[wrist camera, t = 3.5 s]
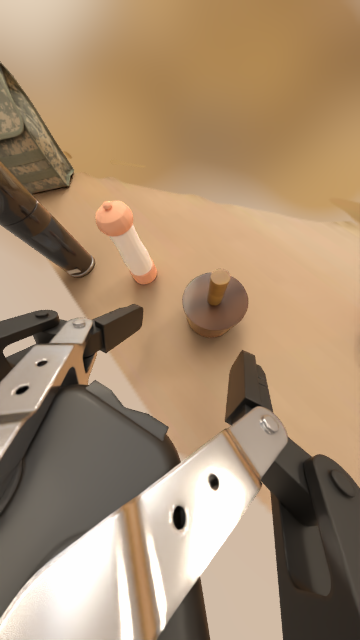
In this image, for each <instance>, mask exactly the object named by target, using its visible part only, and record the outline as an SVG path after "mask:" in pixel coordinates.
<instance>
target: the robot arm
mask: <svg viewBox="0 0 360 640" xmlns="http://www.w3.org/2000/svg"><path fill="white" fill-rule="evenodd" d="M0 225H1V226H3V227H4V228H5V229H7V230H9V231H10V232H11V233H13V234H14V235H15V236H17V237H18V238H20V239H21V240H23V241H24V242H25V243H27V244H28V245H29V246H31V247H32V248H34V249H35V250H36V251H38V252H39V253H41V254H42V255H43V256H45V257H46V258H48V259H49V260H50V261H52V262H53V263H55V264H56V265H58V266H59V267H60V268H62V269H63V270H64V271H66V272H67V273H68V274H70V275H71V276H73V277H82V276H85V275H86V274H88V273H89V272H90V271H91V270H92V269H93V267H94V264H95V260H94V258H93V257H92V256H91V255H90V254H89V253H88V252H87V251H86V250H85V249H84V248H83V247H82V246H81V245H80V244H79V243H78V242H77V241H76V240H75V239H74V237H73V236H72V235H71V234H70V233H69V232H68V231H67V230H66V229H65V228H64V227H63V226H62V225H61V224H60V223H59V222H58V221H57V220H56V219H55V218H54V217H53V216H52V215H51V214H50V213H49V212H48V211H47V210H46V209H45V208H44V207H43V206H42V205H41V204H40V203H39V202H38V200H37V199H36V198H35V197H34V196H33V195H32V194H31V193H30V192H29V191H28V190H27V189H26V188H25V187H24V185H23V184H22V183H21V182H20V181H19V180H18V179H17V177H16V176H15V175H14V174H13V173H12V172H11V171H10V170H9V169H8V168H7V167H6V166H5V165H4V164H3V163H2V162H1V160H0ZM142 320H143V308H142V307H140V306H138V305H135V304H132V305H130V306H128V307H124V308H119V309H116V310H114V311H112V312H109V313H107V314H104V315H102V316H100V317H97V318H95V319H93V320H90V319H88V318H75V319H71V320H69V321H65V320H60V319H59V316H58V313H57V312H55V311H52V310H40V311H35V312H31V313H28V314H25V315H21V316H18V317H14V318H10V319H7V320H3V321H0V640H210V636H209V629H208V623H207V617H206V611H205V604H204V598H203V592H202V586H201V580H200V575H201V573H202V572H203V571H204V569H205V568H206V566H207V565H208V564H209V562H210V561H211V559H212V557H213V556H214V555H215V554H216V552H217V551H218V549H219V548H220V546H221V545H222V544H223V542H224V541H225V539H226V538H227V536H228V535H229V534H230V532H231V531H232V529H233V528H234V527H235V525H236V524H237V522H238V521H239V519H240V518H241V517H242V515H243V514H244V512H245V511H246V509H247V508H248V507H249V505H250V503H251V502H252V501H253V499H254V498H255V497H256V495H257V494H258V492H259V491H260V489H261V486H262V483H261V481H262V482H263V484H264V485H265V486H266V487H267V488H268V489H269V490H270V491H271V503H272V514H273V525H274V537H275V549H276V561H277V572H278V584H279V596H280V608H281V619H282V631H283V640H360V488H359V487H358V486H357V484H356V483H355V482H354V480H353V479H352V478H351V477H350V475H349V474H348V473H347V472H346V471H345V470H344V469H343V468H342V467H341V466H340V465H338V464H337V463H336V462H335V461H333V460H332V459H330V458H329V457H327V456H324V455H320V454H319V455H316V456H313V457H311V456H310V455H309V454H308V453H307V452H305V451H304V450H303V449H302V448H301V447H299V446H298V445H297V444H296V443H295V442H293V441H292V440H291V439H290V438H289V437H288V435H287V432H286V429H285V427H284V425H283V424H282V422H281V421H280V419H279V418H278V417H277V416H276V415H275V414H274V413H273V409H272V405H271V400H270V395H269V390H268V385H267V382H266V376H265V373H264V371H263V370H262V368H261V366H259V365H257V364H256V360H255V355H253V354H250V353H248V352H246V351H243V350H242V351H241V352H240V354H239V356H238V357H237V359H236V360H235V362H234V364H233V365H232V367H231V370H230V374H229V384H228V394H227V404H226V415H225V422H227V423H228V424H230V425H231V426H230V427H229V428H228V429H224V430H223V431H221V432H220V433H219V434H217V435H216V436H215V437H213V438H212V439H211V440H210V441H208V442H207V443H206V444H204V445H203V446H202V447H200V448H199V449H198V450H196V451H195V452H194V453H193V454H191V455H190V456H189V457H187V458H186V459H185V460H183V461H182V462H181V461H180V458H179V455H178V453H177V450H176V448H175V446H174V445H173V443H172V441H171V440H170V438H169V437H168V436H167V435H166V433H167V430H168V428H169V427H168V426H166V425H164V424H163V423H161V422H160V421H158V420H157V419H155V418H154V417H152V416H150V415H149V414H146V413H142V412H139V411H135V410H132V409H128V408H125V407H124V406H123V405H122V404H121V402H120V401H119V400H118V399H117V397H116V396H115V395H114V393H113V392H112V391H111V390H110V389H109V388H107V387H105V386H104V385H102V384H101V383H99V382H98V381H96V380H95V381H93V382H92V383H91V384H90V385H88V379H89V376H90V373H91V370H92V367H93V364H94V361H95V359H96V356H97V351H99V350H101V351H103V352H105V353H107V352H108V351H110V350H111V349H113V348H114V347H115V346H117V345H118V344H120V343H121V342H123V341H124V340H125V339H127V338H128V337H130V336H131V335H132V334H134V333H135V332H137V331H138V330H139V329H140V328H141V326H142ZM32 335H33V337H34V339H35V341H36V344H35V345H33V346H30V347H28V348H26V349H24V350H22V351H19V352H17V353H15V354H13V355H11V356H8V357H6V358H5V356H4V354H3V350H4V348H5V347H6V346H7V345H9V344H12V343H14V342H16V341H19V340H22V339H24V338H27V337H29V336H32ZM260 480H261V481H260Z"/></svg>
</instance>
